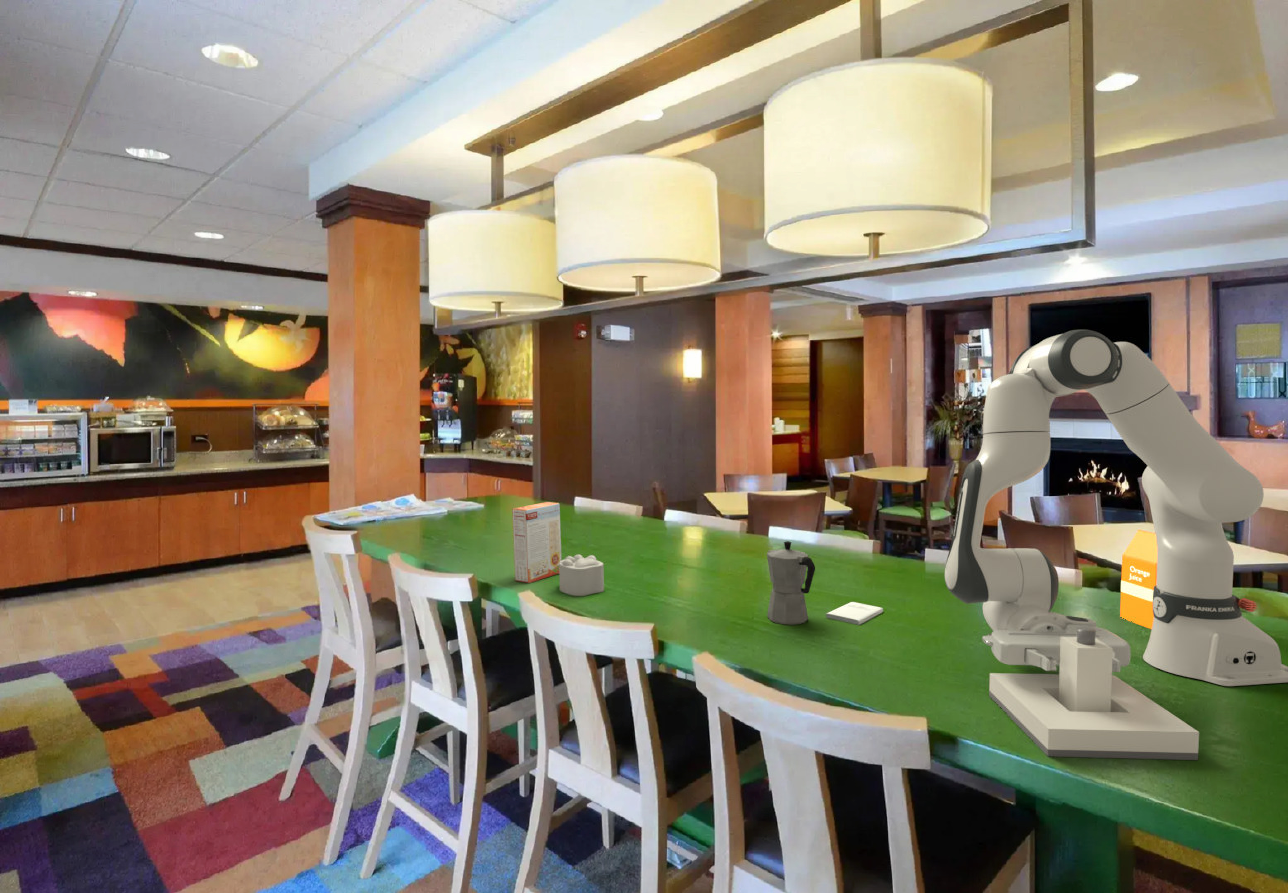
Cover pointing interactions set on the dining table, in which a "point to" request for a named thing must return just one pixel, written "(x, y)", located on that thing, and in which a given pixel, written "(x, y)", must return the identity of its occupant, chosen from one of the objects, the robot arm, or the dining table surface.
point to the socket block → (1093, 721)
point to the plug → (1085, 673)
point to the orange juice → (1139, 579)
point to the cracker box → (536, 541)
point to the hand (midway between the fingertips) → (1083, 666)
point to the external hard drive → (854, 613)
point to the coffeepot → (789, 585)
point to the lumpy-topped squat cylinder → (581, 575)
